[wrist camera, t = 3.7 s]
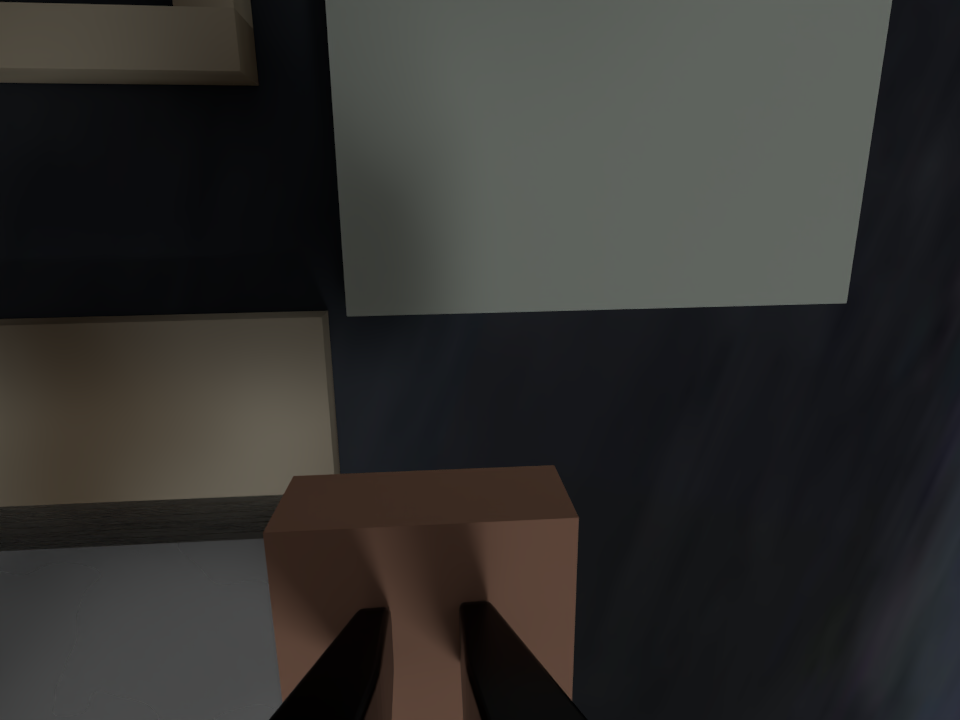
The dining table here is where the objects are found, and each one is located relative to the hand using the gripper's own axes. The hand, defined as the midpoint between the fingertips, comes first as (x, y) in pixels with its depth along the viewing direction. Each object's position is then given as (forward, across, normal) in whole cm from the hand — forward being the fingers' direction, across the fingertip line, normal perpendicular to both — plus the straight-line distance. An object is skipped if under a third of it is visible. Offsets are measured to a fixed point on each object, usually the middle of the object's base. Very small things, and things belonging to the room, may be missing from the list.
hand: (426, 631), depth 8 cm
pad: (+6, -4, -10) cm, 12 cm away
